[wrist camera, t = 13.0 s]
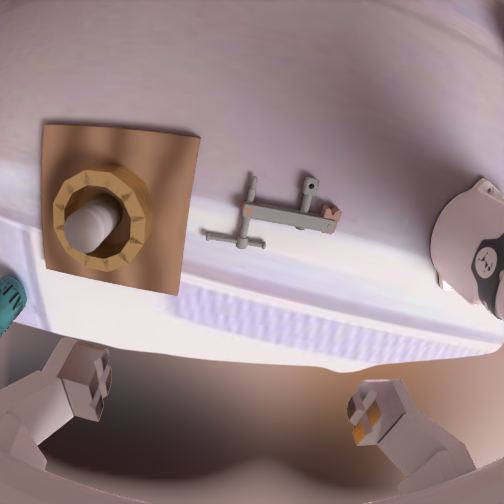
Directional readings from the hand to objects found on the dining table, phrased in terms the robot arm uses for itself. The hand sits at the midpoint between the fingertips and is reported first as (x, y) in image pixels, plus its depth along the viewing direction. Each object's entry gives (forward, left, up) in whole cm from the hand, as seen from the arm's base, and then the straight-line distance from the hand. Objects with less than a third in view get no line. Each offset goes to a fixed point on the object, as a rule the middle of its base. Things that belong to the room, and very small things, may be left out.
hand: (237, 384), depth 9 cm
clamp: (-5, +3, -30) cm, 30 cm away
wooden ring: (+15, +6, -28) cm, 32 cm away
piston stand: (+15, +6, -29) cm, 33 cm away
